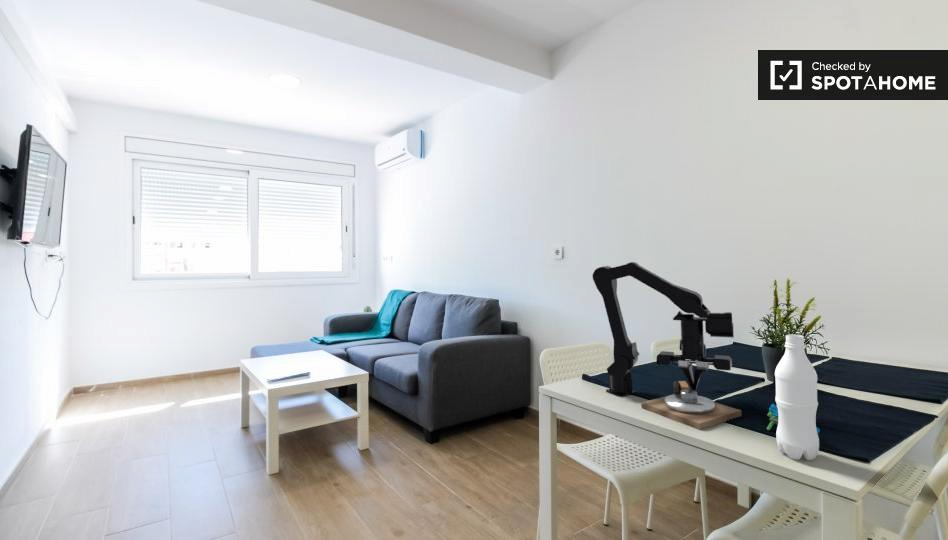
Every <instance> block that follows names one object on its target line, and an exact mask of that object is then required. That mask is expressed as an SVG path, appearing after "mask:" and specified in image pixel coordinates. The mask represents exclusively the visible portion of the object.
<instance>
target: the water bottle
mask: <svg viewBox="0 0 948 540" xmlns="http://www.w3.org/2000/svg"><path fill="white" fill-rule="evenodd" d="M804 339H805V337H804V335H801V334H791V333H790V334H786V335H785V342H784V344H783V345H784V347H785V351H784V354H783V356H781V359H780V360H779V362H778V363H777V365H776V366H775V367H776V368H775V370H774V376H775V397H774V398H775V399H774V400H775V403H776V404H775V405H776V406H777V408H778V416H779V419H778V424H777V427H776V433H775V436H776V437H775V438H776V440H775V441H776V445H777V448H778V450H779V451H780V453H782V454H783V455H787V457H789V458H790V459H792V460H796V461H797V460H800V459H801V458H802V456H803V457H804V459H805V460H806V461H813V460H815V458H816V457H817V456H818V454H819V450H820V438H819V433H817V430H816V427H817V424H816V423H817V421H816V419H817V416H816V415H817V410H818V406H819V401H818V374H817V372H816V371H817V370H815V367H814V366H813V364H812V363H811V361H810V360H809V358H808V357H807V354H806V352H805V349H806V347H807V346H805V345H806V344H805V343H804V342H805V340H804Z"/></svg>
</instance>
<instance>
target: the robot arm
mask: <svg viewBox="0 0 948 540" xmlns="http://www.w3.org/2000/svg"><path fill="white" fill-rule="evenodd" d="M629 276H630V277H632V278H634V279H635V280H637V281H639V282H640V283H642V284H644V285H646V286H648V287H649V288H650V289H653V290H655V291H656V292H658V293H660V294H662V295H663V296H665V297H666V298H667V299H668V300H670V302H672V304H673V305H675V306H676V307H678V309H680V310H681V311H680V310H678V312H677V314H675V316H673V318H672V320H673V321H680V337H681V338H680V339H679V350H680V351H681V355H676V354H675V352H674V351H665V350H664V351H663V350H662V351H660V352H659V353H658V354H657V355H656V359H655V360H656V364H657V365H660V366H661V365H663V366H668V365H670V363H678V366H677V369H678V370H681V371H682V372H683V374H684V376H685V377H686V379H687V381H688V383H689V384H688V385H689V387H691V388H690V389H691V390H694V391H696V392H697V388H698V385H699V383H700V379H701V376H702V374H703V373H704V372H707V371H708V369H709V367H710V366H713V367H714V369H716V370H720V371H731V370H732V366H733V361H732V360H733V359H732V357H730V355H720V354H719V355H718V354H715V355H714V358H713V357H706V356H707V345H706V344H705V341H704V340H705V339H704V338H705V337H704V327H705V334H706V333H707V335H709V337H711V338H712V337H713V338H731V339H733V338H734V336H735V335H734V334H735V333H734V322H733V313H732V312H730V311H729V312H727V311H725V312H711V310H709V308H708V307H707V306H706V305H705V304H704V303H703V301H704V300H703V297H702V295H701V294H700V293H699V292H697V291H695V290H691V289H688V288H686V287H684V286H680V285H676V284H673V283H671V282H669V280H667V279H666V278H665V279H664V278H663V277H661V276H659V275H657V274H656V273H654V272H652V271H650V270H649V269H647V268H645V267H643V266H641V265H639V263H637V262H635V261H634V262H633V261H631V262H628V263H626V264H622V265H619V266H614V267H612V266H609V265H607V266H606V265H605V266H600V267H597V268H596V269H594V271H593V273H592V281H593V282H594V285H595V287H596V289H597V290H598V292H599V293H600V295H601V297H602V300H603V303H604V308H605V312H606V315H607V320H608V323H609V327H610V332H611V335H612V339H613V362H612V363H611V364H610V365H609V366H608V367H607V368H606V371H607V373H608V377H609V380H608V381H609V383H608V384H609V388H608V389H607V388H606V389H605V392H606V393H609V394H612V395H615V396H617V397H624V396H628V395H632V394H636V393H637V392H636V390H633V379H632V373H630V371H631V370H632V369H633V368H634V367H635V365H636V364H637V362H638V360H639V356H640V353H639V351H638V346H637V342H636V341H635V342H631V340H630V338H629V336H628V332H627V329H626V325H625V321H624V317H623V314H622V310H621V305H620V301H619V298H618V293H617V292H618V291H617V290H618V279H621V278H625V277H629ZM682 311H683V312H684V313H683V312H682ZM704 325H705V326H704ZM693 364H695V365H696V366H695V368H694V370H693ZM693 371H694V373H693Z"/></svg>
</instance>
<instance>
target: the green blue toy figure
mask: <svg viewBox="0 0 948 540" xmlns="http://www.w3.org/2000/svg"><path fill="white" fill-rule="evenodd" d="M768 410H769V411H768V413H767V414H766V415H767V417H769V423H768V425H767V427H766V430H767V431H769V430H770V431H771V429H772V427H773V426H774V424H775V425H778V419H779V416H778V408H777V404H774V403H772V404H771V405H770V406H769V408H768ZM816 430H817V434H819V433H820V431H821V429H820V428H819V427H817V426H816Z"/></svg>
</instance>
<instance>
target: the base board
mask: <svg viewBox="0 0 948 540" xmlns="http://www.w3.org/2000/svg"><path fill="white" fill-rule="evenodd" d="M674 394H680V382H678V381H676V380H675V381H673V394H672V395H674ZM670 395H671V394H669V395H665V396H662V397H658V398H654V399H650V400H646V401H642V402H641V403H640V404H641V409H643V410H646V411H648V412H652V413H654V414H656V415H660V416H662V417H664V418H668V419H670V420H673V421H675V422H679V423H681V424H683V425H686V426H689V427H691V428H694V429H697V430H702V429H706V428H709V427H712V426H715V425H719V424H721V423H722V424H723V423H724V422H727V420H728V421H730V420H729V419H731V420H734V419H737V418H740V417H742V410H741V409H739V408H735V407H731V406H730V405H729V406H728V405H725V404H722V403H719V402H716V401H713V402H714V403H715V410H714V411H712V412H709V413H704V414H691V413H683V412H679V411H675V410H672V409H670V408H668V407H667V406H666V405H665V398H666V397H667V396H670ZM733 418H734V419H733Z"/></svg>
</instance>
